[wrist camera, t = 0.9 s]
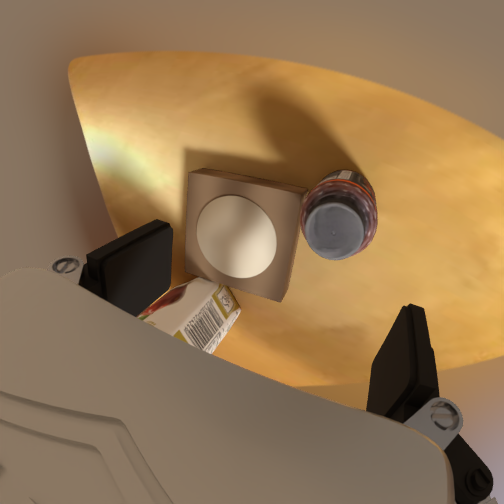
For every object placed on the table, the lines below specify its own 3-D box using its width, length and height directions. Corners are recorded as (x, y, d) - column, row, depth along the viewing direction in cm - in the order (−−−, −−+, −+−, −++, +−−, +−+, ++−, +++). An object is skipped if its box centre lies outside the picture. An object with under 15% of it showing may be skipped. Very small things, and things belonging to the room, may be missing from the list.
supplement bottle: (383, 216, 28) (390, 261, 18) (329, 234, 31) (309, 285, 21) (362, 159, 27) (360, 175, 17) (307, 180, 30) (275, 207, 20)
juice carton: (250, 312, 38) (170, 425, 22) (202, 326, 43) (121, 419, 26) (221, 262, 37) (116, 359, 21) (174, 282, 41) (77, 364, 25)
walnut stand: (307, 188, 30) (301, 194, 27) (287, 289, 35) (280, 303, 32) (202, 168, 33) (187, 172, 30) (197, 261, 38) (184, 272, 36)
